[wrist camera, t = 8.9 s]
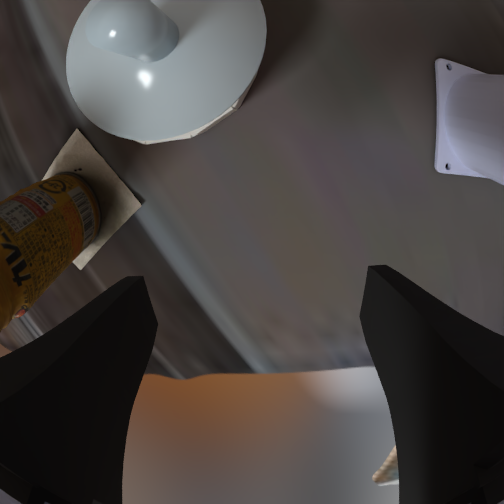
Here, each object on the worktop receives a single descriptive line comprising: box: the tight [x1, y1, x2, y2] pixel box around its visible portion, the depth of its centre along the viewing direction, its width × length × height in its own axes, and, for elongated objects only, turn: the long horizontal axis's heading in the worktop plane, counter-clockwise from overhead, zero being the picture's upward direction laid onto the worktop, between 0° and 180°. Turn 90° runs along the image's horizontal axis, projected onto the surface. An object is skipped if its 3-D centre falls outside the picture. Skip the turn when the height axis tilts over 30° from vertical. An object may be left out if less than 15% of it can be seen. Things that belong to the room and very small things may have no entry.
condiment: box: [0, 129, 142, 332], centre depth 13 cm, size 7×8×12 cm
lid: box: [66, 0, 267, 141], centre depth 8 cm, size 10×10×5 cm
